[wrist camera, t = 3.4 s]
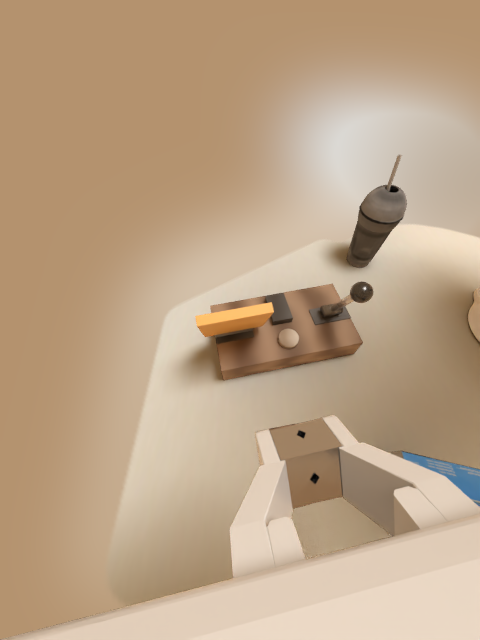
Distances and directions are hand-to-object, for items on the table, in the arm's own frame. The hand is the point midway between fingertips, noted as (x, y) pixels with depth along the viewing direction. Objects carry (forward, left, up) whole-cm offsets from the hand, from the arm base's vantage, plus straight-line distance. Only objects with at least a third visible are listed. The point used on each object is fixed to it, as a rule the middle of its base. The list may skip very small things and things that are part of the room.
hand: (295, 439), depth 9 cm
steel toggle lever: (-16, -19, -24) cm, 35 cm away
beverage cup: (-29, -33, -30) cm, 53 cm away
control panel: (-8, -19, -29) cm, 36 cm away
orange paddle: (0, -19, -24) cm, 31 cm away
